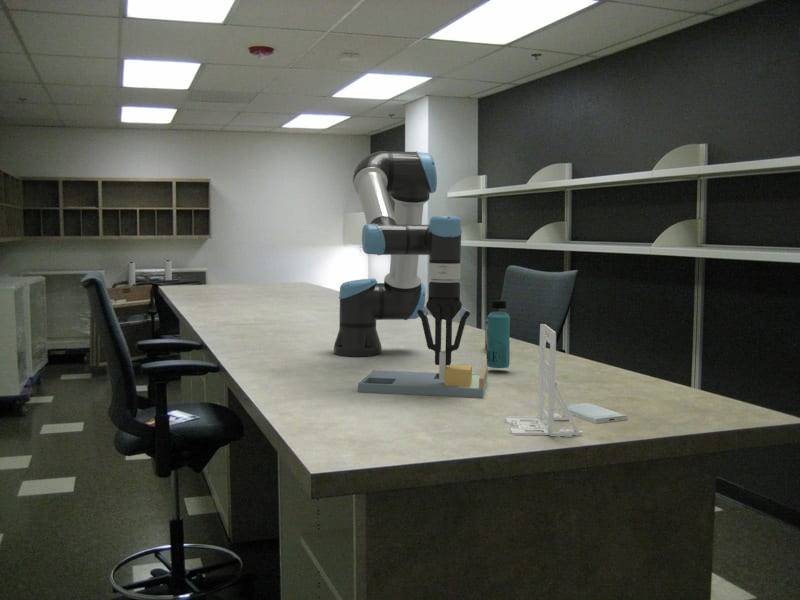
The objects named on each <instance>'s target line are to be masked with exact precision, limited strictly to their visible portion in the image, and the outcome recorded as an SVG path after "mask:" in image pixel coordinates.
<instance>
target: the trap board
mask: <svg viewBox="0 0 800 600" xmlns="http://www.w3.org/2000/svg"><path fill="white" fill-rule="evenodd" d="M482 366H483V367H482V369H481V372H480V374H473V373H472V382H471V385H470V387H465V386H445V380H441V379H439V372H425V371H424V372H423V371H399V370H398V371H397V370H383V369H382V370H376V369H374V370H372V371H371V372H370V373H368V374H367V375H366V376H365V377H364V378H363V379H361V381H359V382H358V383H357V392H358V393H373V394H374V393H376V394H397V395H416V396H417V395H419V396H435V397H436V396H438V397H440V396H441V397H460V398H477V399H478V398H481V399H482V398H483V399H484V395H485V391H486V388H487V384H488V368H489V367H488V365H487V364H485V365H484V364H483V365H482Z"/></svg>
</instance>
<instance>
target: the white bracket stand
mask: <svg viewBox="0 0 800 600" xmlns="http://www.w3.org/2000/svg"><path fill="white" fill-rule="evenodd" d="M547 343H548V344H549V363H548V361H546V360H547V353H546V346H547ZM538 348H539V349H538V350H539V352H538V356H539V358H538V361H539V363H538V392H537V394H538V395H537V415H536V416H534V415H533V416H532V415H531V416H527V415H526V416H525V415H520V416H506V417H505V418H504V419H503V422H504V423H506V424H507V423H510V424H511V425H510V424H509V425H510V426H511V427H509V428H508V429H507V431H508V433H509V434H511V435H514V434H515V435H514V436H527V435H550V436H549V437H551V436H557V437H556V438H561V437H560V436H566V437H565V438H573V436H572V435H576V436H575V437H583V431H582V430H579V429H578V426H577V424H576V422H575V420H574V417H573V415H571V413H570V411H569V409H568V407H567V405H568V404H567V403H566V402H565V400H564V398H563V396H562V393H561V391H560V389H559V387H558V381H557V380H556V364H557V363H556V361H557V360H556V357H557V356H556V354H557V332H556V331H555V330H553V329H552V328H551V327H550V326H548V325H547V324H546V323H545V324H544V323H540V325H539V346H538ZM545 392H546V393H547V394H548V407H547V408H548V410H546V409H545ZM555 401H556V403H557V405H558V407H559V408H560V410H561V414H562V415H560V414H559V413H555ZM562 405H563V406H562ZM563 407H564V408H563ZM559 408H558V409H559ZM564 409H565V410H564ZM560 410H559V411H560ZM565 411H566V412H565ZM520 420H530V421H520ZM531 420H532V421H531ZM541 420H542V421H541ZM554 420H569V421H568V422H570V424H571V426H572V428H573V430H572V429H562V428H559V429H558V430H557V431H554V430H555V428H554V424H555V423H554V422H555V421H554ZM537 421H538V422H537ZM533 425H534V426H533ZM525 430H540V431H525ZM543 431H544V432H543Z"/></svg>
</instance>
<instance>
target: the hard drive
mask: <svg viewBox="0 0 800 600" xmlns="http://www.w3.org/2000/svg"><path fill="white" fill-rule="evenodd" d="M566 405H567V407H568V409H569V411H570V413H571V414H573V415H572V416H574V415H576V416H575V417H577V416H578V417H577V418H579V417H581V418H580V419H582V418H583V420H585V419H586V420H585V421H587V420H588V421H587V422H590V421H591V422H590V423H593V422H594V423H593V424H596V423H597V424H603V423H602V422H605V423H609V422H608V421H614V422H616V421H615V420H622V419H627V420H628V415H625V414H622V413H620V412H616V411H614V410H610V409H607V408H606V407H603V406H599V405H596V404H593V403H590V402H581V403H572V404H566ZM562 406H563V405H562ZM563 408H564V407H563ZM558 409H559V411H560V408H558ZM564 410H565V409H564ZM565 413H566V411H565ZM622 421H623V420H622Z"/></svg>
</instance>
